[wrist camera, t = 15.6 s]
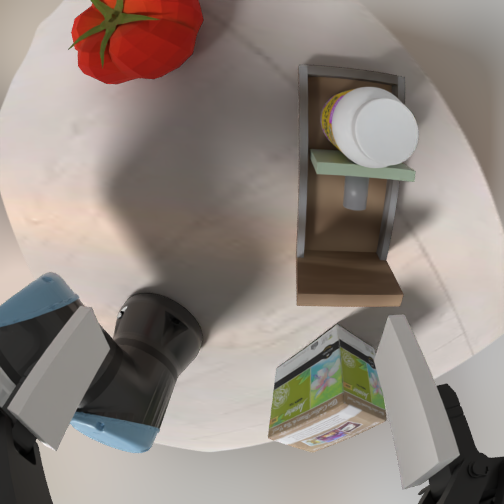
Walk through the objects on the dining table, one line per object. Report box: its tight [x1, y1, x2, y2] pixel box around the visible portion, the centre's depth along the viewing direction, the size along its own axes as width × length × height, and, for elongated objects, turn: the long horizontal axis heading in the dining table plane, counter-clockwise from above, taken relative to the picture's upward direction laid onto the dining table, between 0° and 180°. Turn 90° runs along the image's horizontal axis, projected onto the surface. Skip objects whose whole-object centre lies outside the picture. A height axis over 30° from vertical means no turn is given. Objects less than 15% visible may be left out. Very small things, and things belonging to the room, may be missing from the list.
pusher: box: [310, 149, 416, 211], centre depth 26 cm, size 5×9×8 cm, turn 92°
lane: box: [296, 65, 405, 307], centre depth 26 cm, size 23×11×10 cm, turn 2°
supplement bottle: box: [321, 87, 419, 168], centre depth 21 cm, size 7×7×13 cm
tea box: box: [268, 324, 386, 452], centre depth 39 cm, size 15×10×15 cm, turn 144°
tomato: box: [68, 0, 204, 84], centre depth 20 cm, size 13×14×12 cm
